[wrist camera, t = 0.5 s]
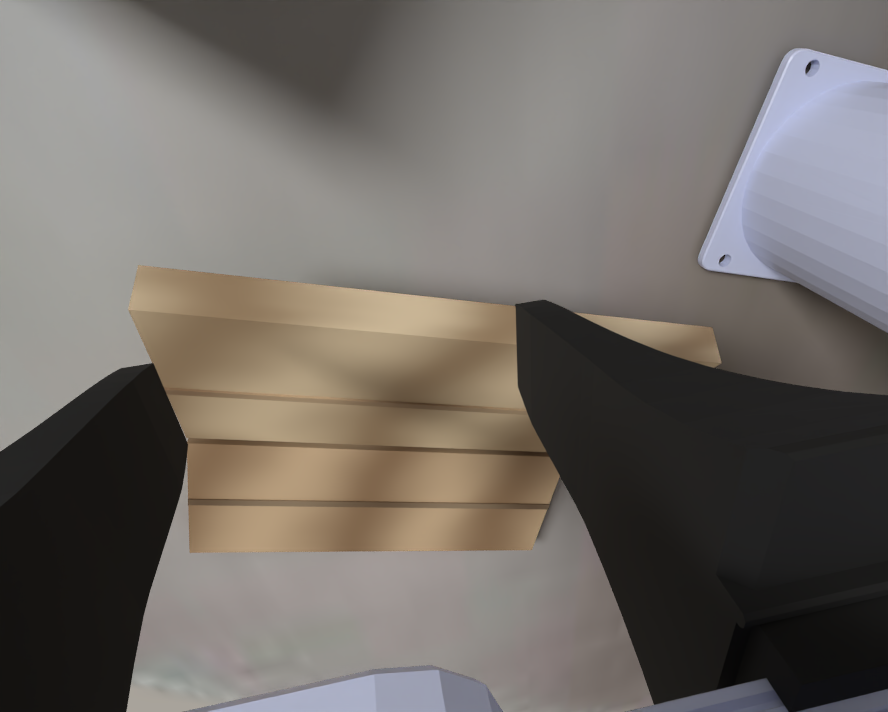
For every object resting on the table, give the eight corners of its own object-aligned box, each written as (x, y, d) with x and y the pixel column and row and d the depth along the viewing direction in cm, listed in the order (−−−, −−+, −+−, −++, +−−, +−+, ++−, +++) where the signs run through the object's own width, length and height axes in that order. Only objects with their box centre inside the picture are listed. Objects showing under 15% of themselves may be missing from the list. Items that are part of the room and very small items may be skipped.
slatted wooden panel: (712, 327, 17) (722, 365, 17) (566, 427, 26) (569, 454, 26) (138, 265, 13) (127, 312, 13) (191, 408, 22) (186, 439, 22)
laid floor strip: (557, 440, 27) (567, 458, 26) (524, 531, 30) (532, 551, 29) (193, 424, 23) (186, 444, 22) (195, 531, 26) (189, 553, 25)
